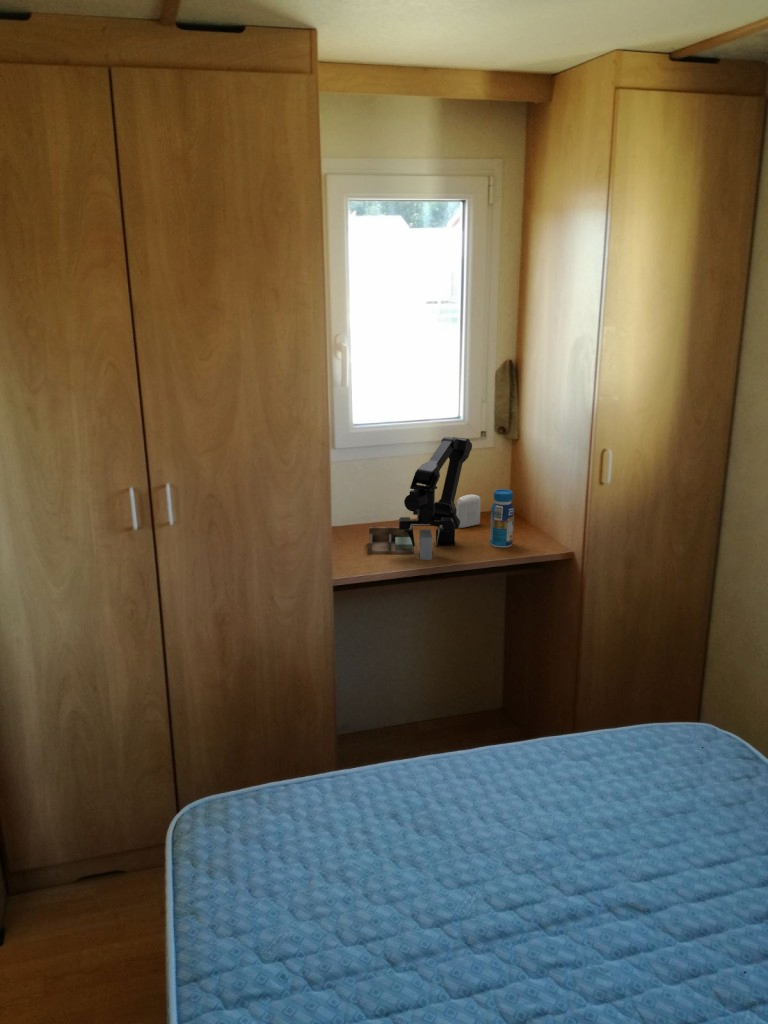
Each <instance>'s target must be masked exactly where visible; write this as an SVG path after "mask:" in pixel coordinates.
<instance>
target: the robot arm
mask: <svg viewBox="0 0 768 1024" xmlns="http://www.w3.org/2000/svg"><path fill="white" fill-rule="evenodd" d="M472 443H473V442H471V440H470V439H469V438H465V437H455V436H453V437H449V436H445V437H442V438H441V442H440V444H439V445H438V446H437V448H436V449H435V451H434V452H433V454H432V455H431V456H430V458H429V460H428V461H427V462H425V463H421V465H420V466H419V467H418V468H417V469H416V471H415V472H414V475H413V478H412V481H411V483H410V487H409V489H410V491H409V494H408V495H406V496H405V498H404V501H403V503H404V504H403V505H404V506H405V508H406V510H408V511H409V512H412V514H413V516H416V517H417V518H416V519H417V520H416V519H414V520H411V517H410V516H407V517H406V516H404V517H402V516H401V517H399V519H398V527H399V529H401V530H404V531H405V532H408V534H409V536H410V538H411V541H412V544H413V547H414V548H415V546H416V545H415V536H414V535H415V534H414V527H436V528H435V542H436V548H438V547H439V546H456V541H455V540H456V538H455V537H456V530H457V529H458V530H459V528H458V527H459V525H460V520H459V518H458V517H457V515H456V511H457V510H456V503H455V499H456V495H457V490H458V485H459V482H460V475H461V473H462V468H463V464H464V463H465V461H466V460H468V458H469V457H470V453H471V451H472V449H473V444H472ZM448 459H449V461H448V465H447V469H446V474H445V475H446V476H445V479H444V484H443V489H442V493H441V497H440V499H439V500H438V501H435V499H436V498H435V495H436V493H435V492H436V490H437V489H438V486H437V484H438V482H439V481H440V477H441V473H440V471H441V469H443V468H442V467H443V466H444V464H445V463H446V462H447V460H448Z"/></svg>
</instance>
